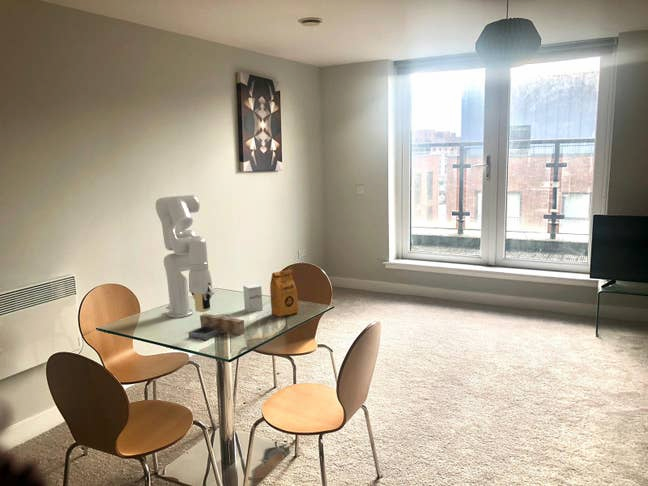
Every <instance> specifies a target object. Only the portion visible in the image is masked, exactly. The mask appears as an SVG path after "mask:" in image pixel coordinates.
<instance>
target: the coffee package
mask: <svg viewBox="0 0 648 486" xmlns="http://www.w3.org/2000/svg"><path fill="white" fill-rule="evenodd" d="M292 271H293V270H292V269H286V270H282V271H276V272H272V274H271V279H270V283H269V287H270V289H269V293H270V294H269V295H270V308H271V315H273V316H274V315H275V317H276V316H277V317H285V316H291V315H294V313H295V314H298V312H299V303H298V300H299V299H298V291H297V287H296V283H295V281H294V278H293V275H292V273H293V272H292Z"/></svg>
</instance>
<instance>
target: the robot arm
mask: <svg viewBox="0 0 648 486" xmlns="http://www.w3.org/2000/svg"><path fill="white" fill-rule="evenodd" d="M200 205H201V204H200V201H199V199H198V198H197V196H196V195H194V194H190V195H178V196H177V195H176V196H165V197H163V196H162V197H159V198H158V199H156V201H155V211H156V214H157V216H158V218H159V220H160V222H161V227H162V235H163V243H164V247H165V249H166V250H167V251H173V252H172V253H169V254H167V255H165V257H164V258H163V266H164V270H165V274H166V281H167V290H168V292H167V293H168V300H169V304H168V305H167V306H165V309H166V310H168V312H167V317H168V318H173V319H174V318H175V319H177V318H185V317H189V316H191V315H193V314H194V309H191V308H190V298H189V293H190V294H191V296H192V298H193V300H195V298H194V293H197V294H203V296H204V300H203V301H204V309H208V308H210V309H211V301H210V300H211V298H212V296H213V295H215V291H214V290H213V282H212V277H211V273H210V270H209V263H208V250H207V249H208V248H207V241H206V240H205V238H204V237H202V236H200V235H196V233H195V231H193V230H191V229H189V228H190V227H192V224H193V223H194V221H193V217H192V214H191V213H193V214H194V213H198V212H199V210H200ZM185 271H188V279H187V277H186V276H185V275H184V274H182V272H185ZM206 294H207V296H206Z"/></svg>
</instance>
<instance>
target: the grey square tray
mask: <svg viewBox="0 0 648 486" xmlns="http://www.w3.org/2000/svg"><path fill="white" fill-rule="evenodd" d="M187 333H188V338H189V339H193V340H198V341H204V342H206V341H208V340H211V339H214V338H215V337H217V336H220V335H222V332H221V329H220V328H215V327H209V326H203V327H201V326H200V327H198V328H196V329H193V330H191V331H188V332H187Z"/></svg>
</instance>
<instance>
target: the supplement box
mask: <svg viewBox="0 0 648 486" xmlns="http://www.w3.org/2000/svg"><path fill="white" fill-rule="evenodd" d="M262 291H263V290H262V286H261V285H260V284H258V283H252V284H247V285H243V299H244V310H246V311H247V312H248V313H253V312H257V311H262V310H263V308H264V307H263V293H262Z"/></svg>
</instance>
